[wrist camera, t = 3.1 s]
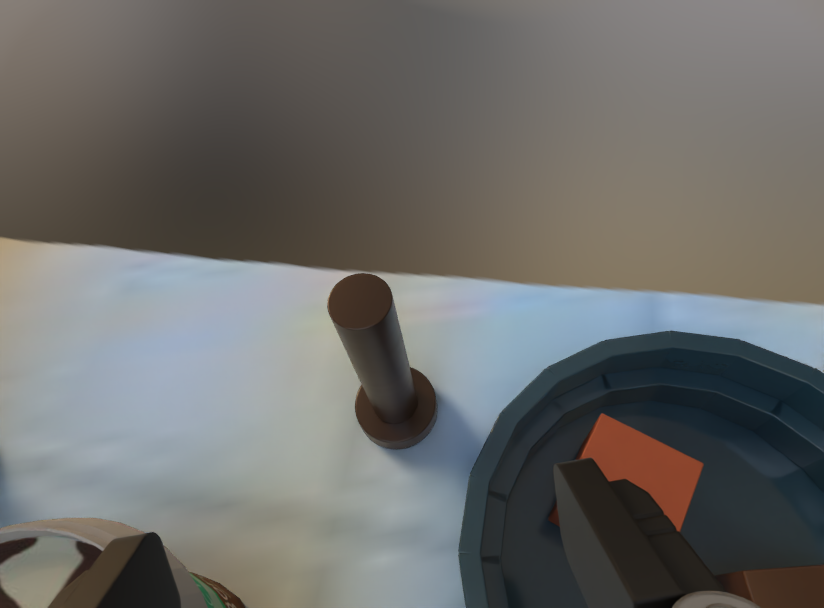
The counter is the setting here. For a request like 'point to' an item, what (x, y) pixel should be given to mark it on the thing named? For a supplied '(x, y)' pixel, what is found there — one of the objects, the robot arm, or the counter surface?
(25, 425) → the counter surface
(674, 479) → the block
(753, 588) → the block
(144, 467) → the counter surface
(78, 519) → the food container
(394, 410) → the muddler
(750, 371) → the bowl
